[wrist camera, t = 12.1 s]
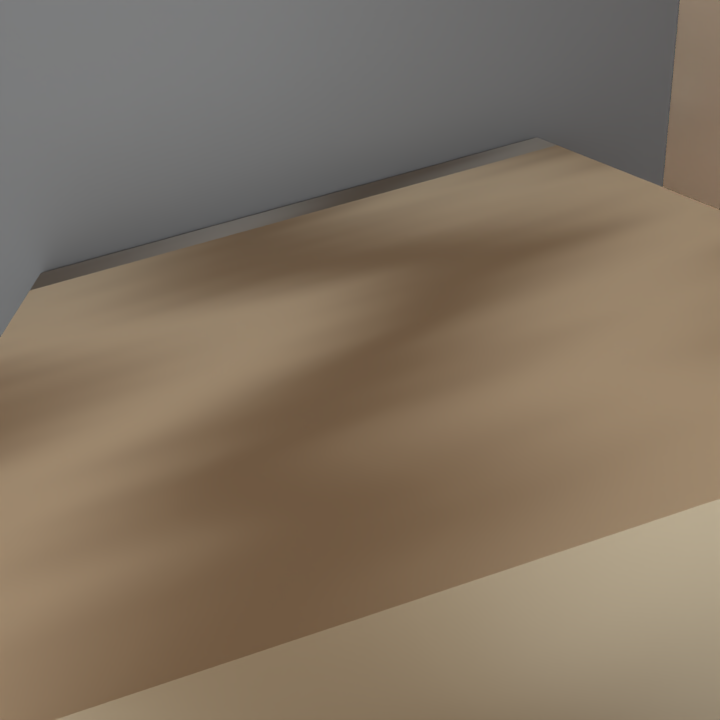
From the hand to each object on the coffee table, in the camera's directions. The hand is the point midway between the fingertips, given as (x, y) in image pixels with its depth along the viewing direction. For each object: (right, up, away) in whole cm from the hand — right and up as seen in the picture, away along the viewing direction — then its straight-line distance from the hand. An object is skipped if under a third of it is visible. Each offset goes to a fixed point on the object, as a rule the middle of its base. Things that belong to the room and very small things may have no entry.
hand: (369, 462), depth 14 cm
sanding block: (0, +1, +1) cm, 1 cm away
